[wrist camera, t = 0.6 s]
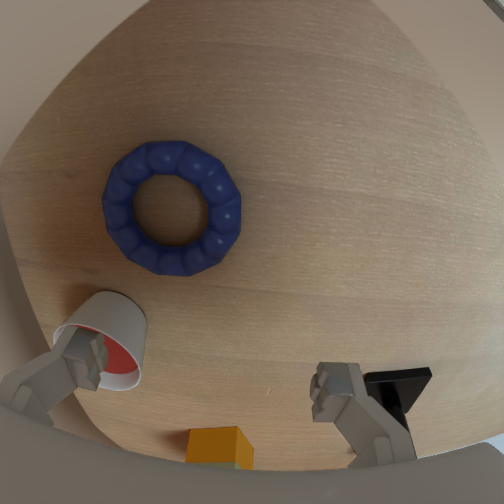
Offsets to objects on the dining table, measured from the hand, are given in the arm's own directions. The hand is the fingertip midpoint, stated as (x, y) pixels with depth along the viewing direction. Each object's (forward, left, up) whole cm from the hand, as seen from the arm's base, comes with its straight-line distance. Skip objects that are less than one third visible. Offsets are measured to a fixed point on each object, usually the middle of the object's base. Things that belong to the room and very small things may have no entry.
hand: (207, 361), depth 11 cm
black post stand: (+24, +20, -15) cm, 35 cm away
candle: (+12, -12, -15) cm, 23 cm away
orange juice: (+38, -2, -15) cm, 41 cm away
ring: (0, -5, -14) cm, 15 cm away
